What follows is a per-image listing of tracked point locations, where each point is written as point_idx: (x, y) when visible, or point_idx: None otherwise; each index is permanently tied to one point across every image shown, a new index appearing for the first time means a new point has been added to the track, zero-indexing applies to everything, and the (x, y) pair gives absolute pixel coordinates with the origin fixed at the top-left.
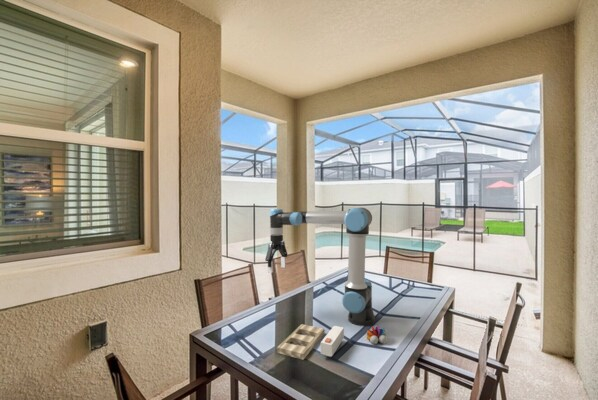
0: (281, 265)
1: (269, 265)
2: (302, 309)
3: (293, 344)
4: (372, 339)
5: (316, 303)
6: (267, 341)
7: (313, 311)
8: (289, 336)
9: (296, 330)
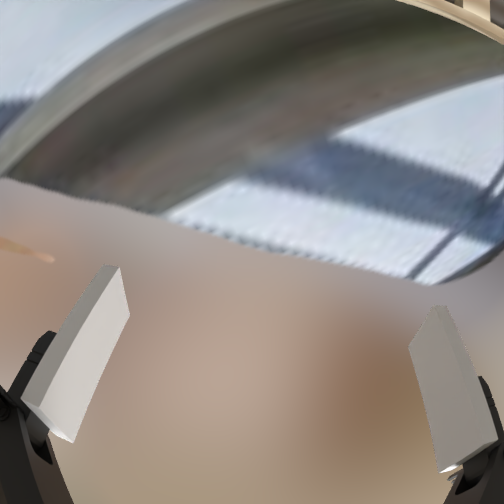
0: (119, 330)
1: (487, 400)
2: (159, 66)
3: (490, 14)
4: None
5: (71, 53)
6: (495, 104)
7: (161, 10)
8: (488, 27)
9: (442, 4)
